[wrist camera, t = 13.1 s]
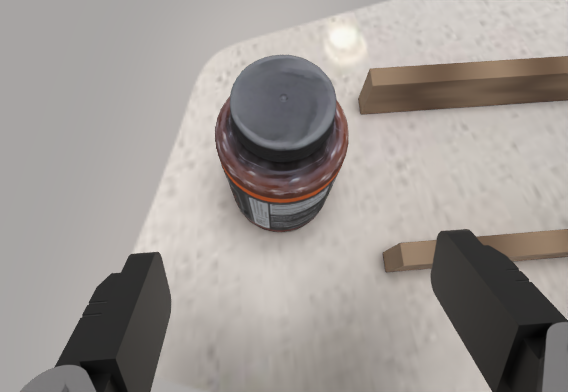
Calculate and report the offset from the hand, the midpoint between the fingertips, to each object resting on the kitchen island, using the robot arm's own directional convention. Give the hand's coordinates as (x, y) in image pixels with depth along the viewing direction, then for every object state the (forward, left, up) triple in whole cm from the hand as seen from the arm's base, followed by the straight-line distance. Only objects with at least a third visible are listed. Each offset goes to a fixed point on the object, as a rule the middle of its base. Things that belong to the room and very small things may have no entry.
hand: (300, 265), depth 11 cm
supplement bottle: (0, -6, -13) cm, 14 cm away
